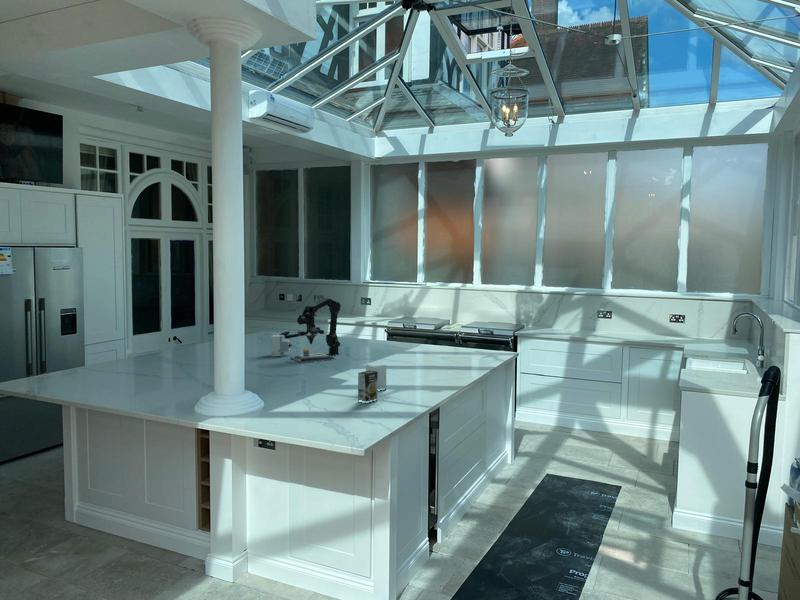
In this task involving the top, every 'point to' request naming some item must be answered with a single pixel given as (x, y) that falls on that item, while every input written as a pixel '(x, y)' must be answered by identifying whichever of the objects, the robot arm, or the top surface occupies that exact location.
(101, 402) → the top surface
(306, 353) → the breaker lever
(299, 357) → the breaker panel
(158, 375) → the top surface
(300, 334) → the robot arm
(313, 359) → the gray flat tray
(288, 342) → the circuit breaker
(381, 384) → the supplement box
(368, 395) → the coffee box
